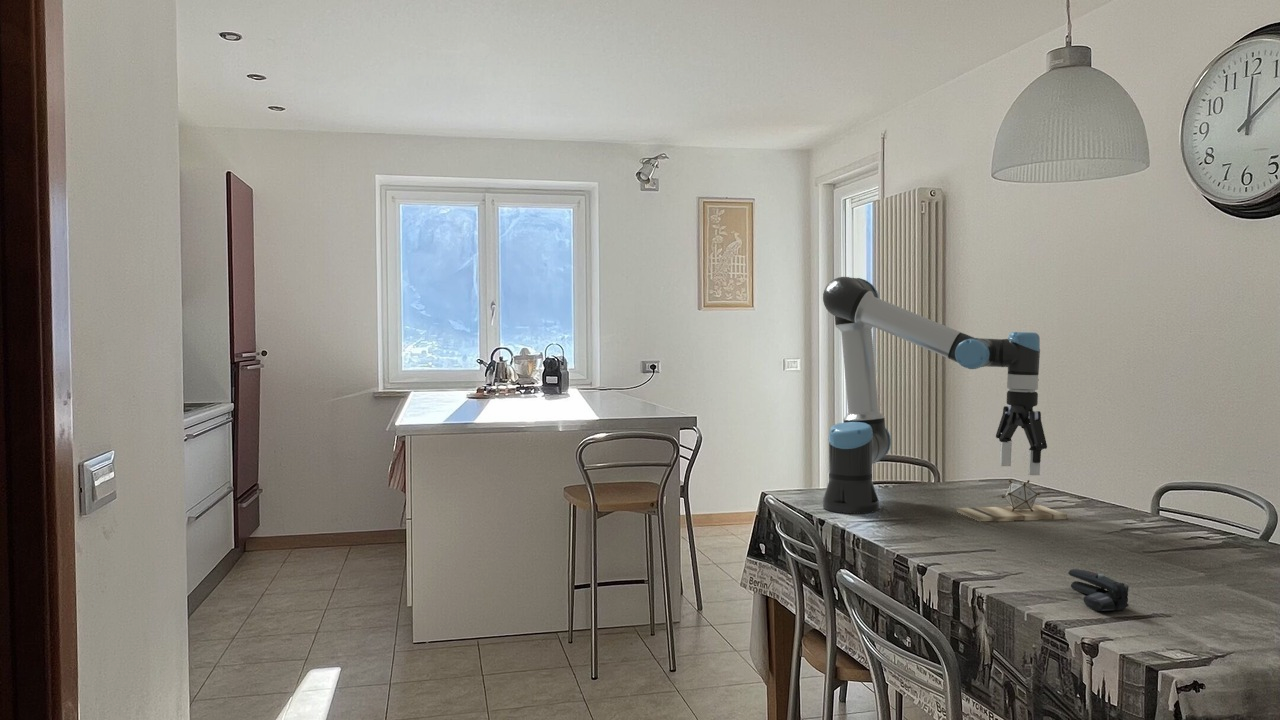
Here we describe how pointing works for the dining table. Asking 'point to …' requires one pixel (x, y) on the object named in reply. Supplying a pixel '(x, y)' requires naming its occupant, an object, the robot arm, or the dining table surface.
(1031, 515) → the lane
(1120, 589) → the can opener
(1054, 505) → the dining table surface
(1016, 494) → the game die
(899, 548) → the dining table surface
